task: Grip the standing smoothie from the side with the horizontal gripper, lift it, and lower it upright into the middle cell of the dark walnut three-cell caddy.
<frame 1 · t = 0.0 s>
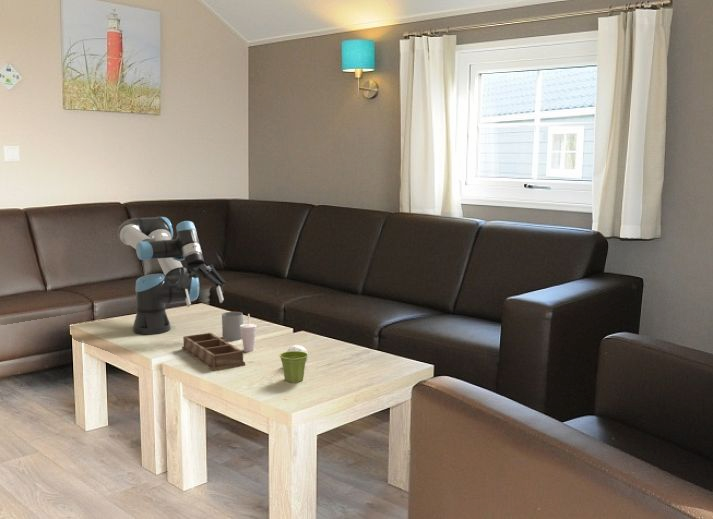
hand: (205, 303, 289), 15 cm above the table, tool tilted 35°, fingers open, 13 cm apart
geometric ball: (297, 366, 258), on the table
caddy: (212, 356, 269), on the table
cup: (233, 338, 296), on the table
plant pot: (294, 380, 243), on the table
smoothie: (248, 350, 278), on the table
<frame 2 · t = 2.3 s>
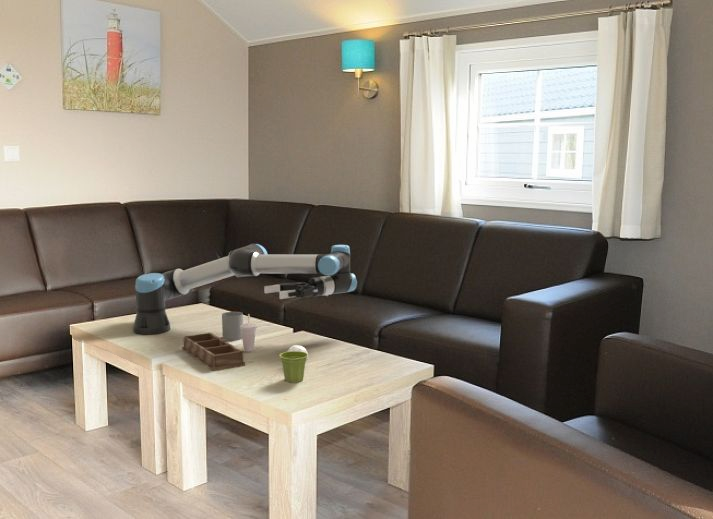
hand: (271, 292, 280), 21 cm above the table, tool horizontal, fingers open, 13 cm apart
nothing on the table moved.
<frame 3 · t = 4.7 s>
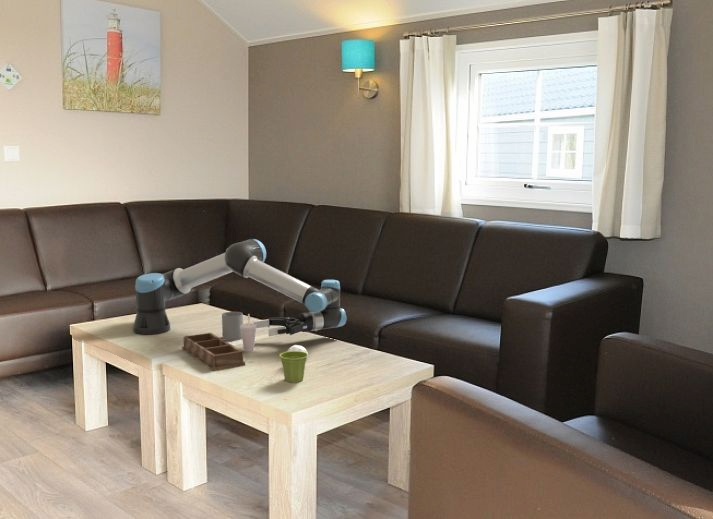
hand: (261, 328, 279), 8 cm above the table, tool horizontal, fingers open, 13 cm apart
nothing on the table moved.
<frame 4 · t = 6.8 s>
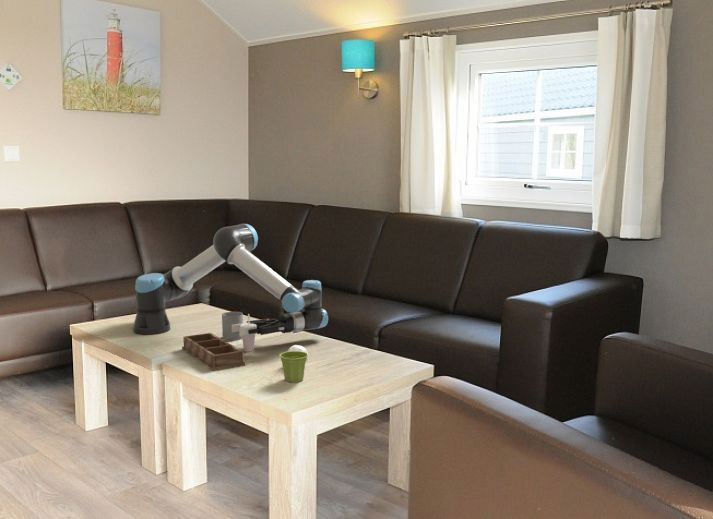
hand: (235, 330, 274), 8 cm above the table, tool horizontal, fingers closed on smoothie, 6 cm apart
smoothie: (248, 350, 278), on the table, touching gripper
everything else where it was.
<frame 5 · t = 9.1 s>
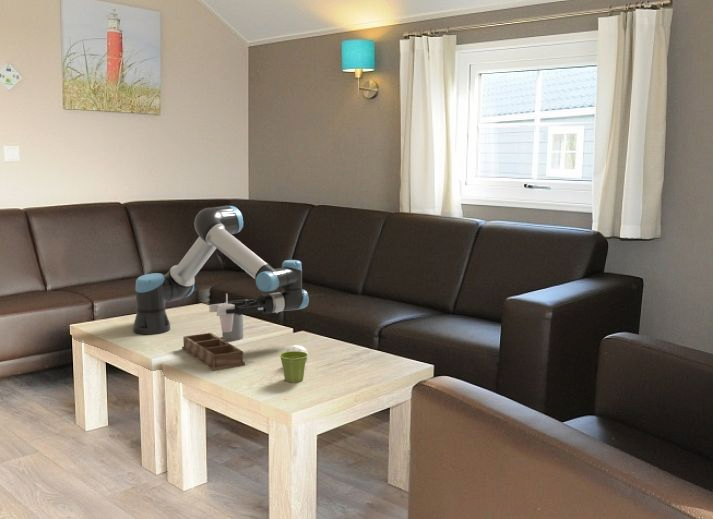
hand: (213, 310, 267), 18 cm above the table, tool horizontal, fingers closed on smoothie, 6 cm apart
smoothie: (226, 331, 271), point 9 cm above the table, touching gripper
everything else where it was.
when the fingers open (10 cm above the table, at t = 11.7 s): smoothie stays where it is, resting on caddy.
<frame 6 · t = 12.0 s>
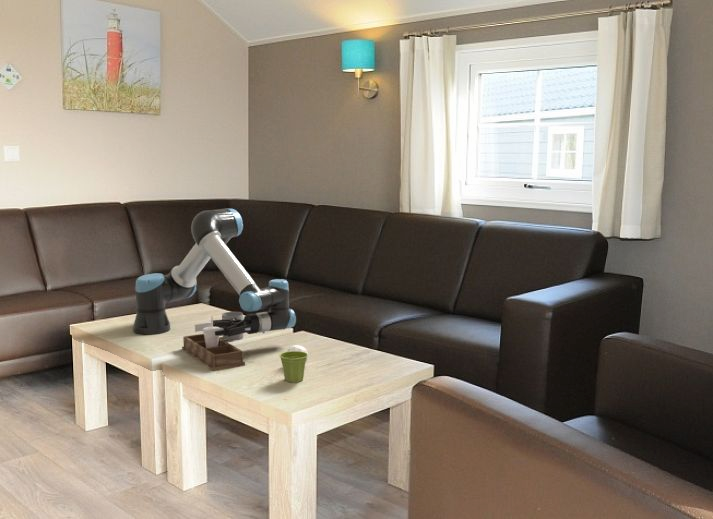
hand: (200, 330, 266), 10 cm above the table, tool horizontal, fingers open, 10 cm apart
smoothie: (212, 354, 269), point 1 cm above the table, touching caddy
everything else where it was.
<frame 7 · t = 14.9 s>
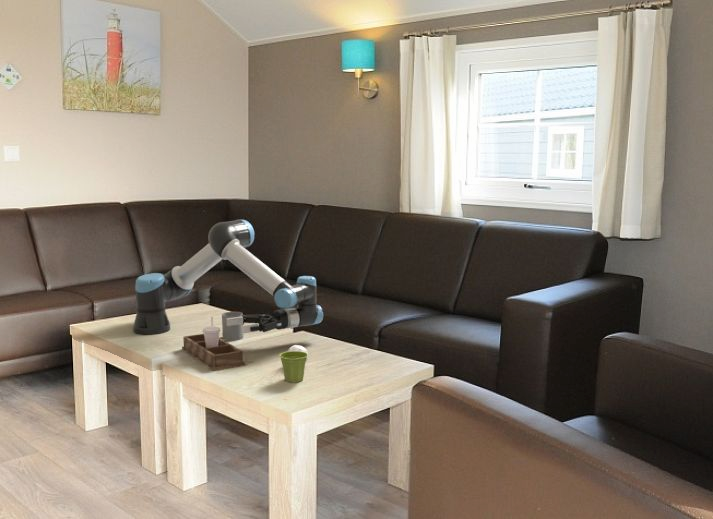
hand: (233, 326, 272), 11 cm above the table, tool horizontal, fingers open, 13 cm apart
nothing on the table moved.
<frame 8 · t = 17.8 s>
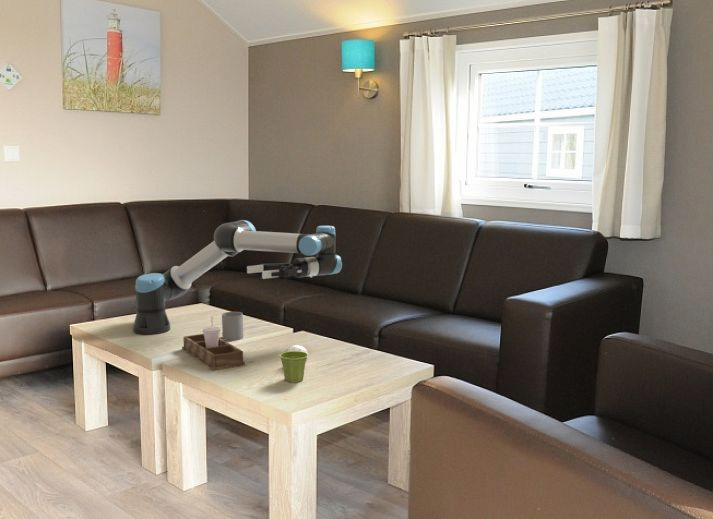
hand: (254, 272, 274), 30 cm above the table, tool horizontal, fingers open, 13 cm apart
nothing on the table moved.
at the end: smoothie 0.1 cm off-centre on the caddy, point 0.8 cm above the caddy's base; smoothie tilted 0°; the gripper is holding nothing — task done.
